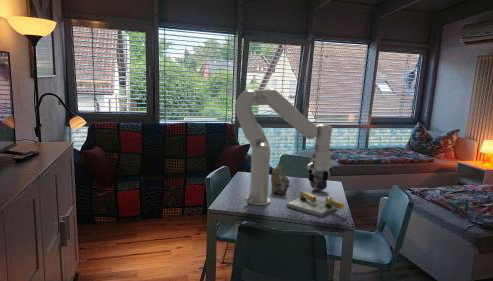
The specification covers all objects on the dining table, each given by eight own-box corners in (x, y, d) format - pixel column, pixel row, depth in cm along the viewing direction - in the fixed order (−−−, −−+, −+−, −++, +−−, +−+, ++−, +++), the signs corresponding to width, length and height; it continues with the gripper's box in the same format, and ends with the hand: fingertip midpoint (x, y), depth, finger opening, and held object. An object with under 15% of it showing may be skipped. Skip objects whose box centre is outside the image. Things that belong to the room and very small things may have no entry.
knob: (344, 210, 164) (345, 203, 164) (338, 211, 163) (339, 204, 162) (328, 203, 174) (329, 196, 174) (323, 204, 172) (324, 197, 172)
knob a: (316, 203, 174) (317, 196, 173) (311, 204, 172) (311, 197, 171) (303, 196, 184) (304, 190, 183) (298, 197, 182) (298, 191, 181)
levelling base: (321, 217, 160) (322, 212, 160) (286, 206, 173) (286, 201, 172) (337, 208, 173) (337, 203, 173) (303, 199, 186) (303, 194, 185)
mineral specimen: (328, 192, 200) (329, 176, 199) (311, 192, 200) (312, 176, 198) (323, 188, 210) (324, 172, 209) (307, 187, 209) (308, 172, 208)
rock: (285, 196, 190) (287, 171, 187) (267, 194, 192) (269, 169, 190) (291, 184, 216) (293, 161, 214) (276, 182, 218) (277, 160, 216)
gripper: (314, 150, 164) (310, 183, 167) (339, 149, 173) (335, 181, 176) (304, 147, 171) (300, 179, 173) (329, 147, 179) (325, 177, 182)
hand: (318, 180), depth 175 cm, fingers open, 9 cm apart
